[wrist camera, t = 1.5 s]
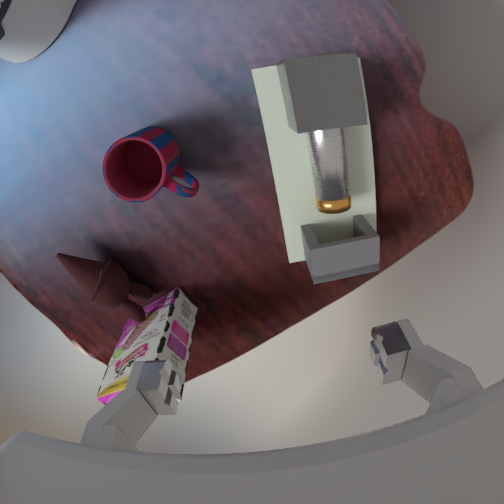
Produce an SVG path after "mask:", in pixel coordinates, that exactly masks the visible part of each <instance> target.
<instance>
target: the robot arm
mask: <svg viewBox="0 0 504 504" xmlns="http://www.w3.org/2000/svg"><path fill="white" fill-rule="evenodd" d="M76 1H77V0H0V58H2V59H4V60H6V61H9V62H11V63H23V62H26V61H29V60H31V59H33V58H35V57H36V56H38V55H39V54H41V53H42V52H43V51H44V50H45V49H46V48H47V47H49V45H50V44H51V43H52V42H53V41H54V40H55V39H56V37H57V36H58V35H59V33H60V32H61V30H62V29H63V27H64V26H65V24H66V22H67V20H68V18H69V16H70V14H71V11H72V9H73V6H74V4H75V3H76ZM371 335H372V338H373V340H372V341H371V343H370V352H371V357H372V361H373V363H374V365H376V366H377V367H378V369H377V374H378V376H379V379H380V381H381V384H382V385H384V384H388V383H391V382H395V381H399V380H401V381H402V382H403V383H405V384H406V385H407V386H409V387H410V388H411V389H412V390H414V391H415V392H416V393H418V394H419V395H420V396H422V397H423V398H424V399H425V400H427V401H428V402H429V403H430V405H429V407H428V409H427V411H426V413H425V415H422V416H419V417H416V418H413V419H410V420H407V421H404V422H401V423H398V424H395V425H392V426H388V427H385V428H381V429H378V430H375V431H371V432H367V433H363V434H359V435H355V436H351V437H347V438H343V439H338V440H333V441H328V442H322V443H317V444H312V445H305V446H299V447H293V448H285V449H277V450H270V451H259V452H247V453H232V454H207V455H206V454H202V455H201V454H200V455H199V454H196V455H193V454H160V453H145V452H142V451H141V450H140V449H139V448H138V447H137V446H136V443H137V442H138V441H139V440H140V438H141V437H142V436H143V434H144V433H145V432H146V431H147V429H148V428H149V427H150V426H151V424H152V423H153V422H154V420H155V419H156V418H157V416H158V415H174V414H176V411H177V405H178V401H177V399H176V397H177V396H178V395H179V393H180V388H181V387H180V379H179V376H178V374H177V372H175V371H173V370H172V366H173V365H172V364H171V362H170V361H169V360H153V361H136V362H135V363H134V364H133V366H132V369H131V372H130V375H129V378H128V381H127V384H126V387H125V390H122V391H120V392H119V393H118V394H117V395H116V396H115V397H114V398H113V399H112V400H111V401H110V402H108V403H107V404H106V405H105V406H104V407H103V408H102V409H101V410H100V411H99V412H97V413H96V414H95V415H94V416H93V417H92V418H91V419H90V420H89V421H88V422H87V424H86V428H85V430H84V433H83V436H82V439H81V443H80V444H78V443H73V442H68V441H63V440H59V439H55V438H51V437H47V436H43V435H39V434H35V433H32V432H28V431H20V432H18V433H17V434H15V435H14V436H12V437H11V438H9V439H8V440H7V441H6V442H4V443H3V444H2V445H1V446H0V504H504V379H502V380H501V381H499V382H497V383H495V384H493V385H491V386H489V387H487V388H485V389H483V388H482V386H481V384H480V382H479V381H478V379H477V377H476V375H475V374H474V372H473V370H472V369H471V367H469V366H467V365H465V364H463V363H461V362H459V361H457V360H456V359H454V358H452V357H450V356H448V355H446V354H444V353H442V352H440V351H438V350H437V349H435V348H433V347H431V346H429V345H424V344H423V343H422V341H421V339H420V338H419V336H418V334H417V332H416V331H415V329H414V328H413V326H412V324H411V322H410V321H409V320H408V319H403V320H399V321H396V322H392V323H388V324H385V325H381V326H377V327H373V328H372V331H371Z"/></svg>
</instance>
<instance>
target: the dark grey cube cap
mask: <svg viewBox="0 0 504 504" xmlns="http://www.w3.org/2000/svg"><path fill="white" fill-rule="evenodd" d="M276 67H277V71H278V76H279V81H280V85H281V90H282V95H283V100H284V105H285V110H286V115H287V120H288V126H289V127H290V128H291V129H292V130H294V131H295V132H296V133H298V134H299V133H306V132H312V131H319V130H327V129H334V128H342V127H351V126H360V125H368V124H367V116H366V108H365V101H364V94H363V88H362V82H361V76H360V70H359V64H358V59H357V54H356V53H355V54H334V55H321V56H310V57H301V58H292V59H285V60H282V61H281V62H280V63H279V64H277V65H276Z"/></svg>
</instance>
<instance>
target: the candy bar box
mask: <svg viewBox="0 0 504 504" xmlns="http://www.w3.org/2000/svg"><path fill="white" fill-rule="evenodd" d="M143 309H144V311H145V314H146V319H145V320H144V321H142V322H136V321H134V320H132V319H129V318H127V321H126V323H125V325H124V328H123V330H122V333H121V335H120V337H119V340H118V342H117V345H116V347H115V350H114V352H113V355H112V357H111V360H110V362H109V364H108V367H107V370H106V372H105V375H104V377H103V381H102V383H101V386H100V388H99V391H98V394H97V396H96V398H97V399H98V400H99V401H101V402H102V403H103V404H105V405H106V404H107V403H108V402H110V401H111V400H112V399H113V398H114V397H115V396H116V395H117V394H118V393H119V392H120V391H122V390H125V387H126V384H127V381H128V378H129V375H130V372H131V369H132V366H133V364H134V363H135V362H136V361H153V360H169V361H170V362H171V364H172V365H173V366H172V370H173V371H175V372H177V374H178V376H179V379H180V387H181V388H180V393H179V395H178V396H177V397H176V399H177V401H181V399H182V393H183V387H184V381H185V375H186V369H187V364H188V358H189V352H190V346H191V342H192V336H193V330H194V325H195V320H196V315H197V310H198V308H197V307H196V305H195V304H194V303H193V302H192V301H191V300H190V299H189V298H188V297H187V296H186V295H185V294H184V292H183V291H182V290H181V289H180V288H179V287H177V288H175V289H173V290H172V291H170V292H168V293H167V294H165V295H163V296H162V297H160V298H158V299H157V300H155V301H153V302H152V303H150V304H148V305H146V306H145V307H143Z"/></svg>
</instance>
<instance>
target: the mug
mask: <svg viewBox="0 0 504 504" xmlns="http://www.w3.org/2000/svg"><path fill="white" fill-rule="evenodd" d="M179 159H180V151H179V147H178V144H177V142H176V140H175V139H174V137H173V136H172V135H171V134H170V133H169V132H167V131H165V130H163V129H161V128H156V127H149V128H144V129H142V130H139V131H137V132H135V133H132V134H130V135H128V136H126V137H124V138H121V139H119V140H118V141H116V142H115V143H114V144H113V145H112V146H110V148H109V149H108V151H107V153H106V155H105V157H104V161H103V175H104V179H105V182H106V184H107V186H108V187H109V189H110V190H111V191H112V192H113V193H114V194H115V195H116V196H117V197H119V198H121V199H123V200H125V201H129V202H143V201H146V200H148V199H150V198H152V197H153V196H155V195H156V194H157V193H158V192H159V191H160V189H161V188H162V187H164V186H165V187H166V188H168V189H169V190H171V191H172V192H174V193H176V194H178V195H180V196H183V197H193V196H194V195H195V194H196V193H197V192H198V189H199V183H198V181H197V180H196V178H195V177H193V176H192V175H191V174H190V173H188V172H187V171H185V170H184V169H182V168H181V167H179V166H178V164H179ZM172 175H175V176H177V177H179V178H181V179H182V180H184V181H185V182H187V183H188V184H189V185H190V186H191V187H192V188H188V187H185V186H183V185H181V184H179V183H177V182H176V181H174V180H173V179H172V178H171V176H172Z"/></svg>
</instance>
